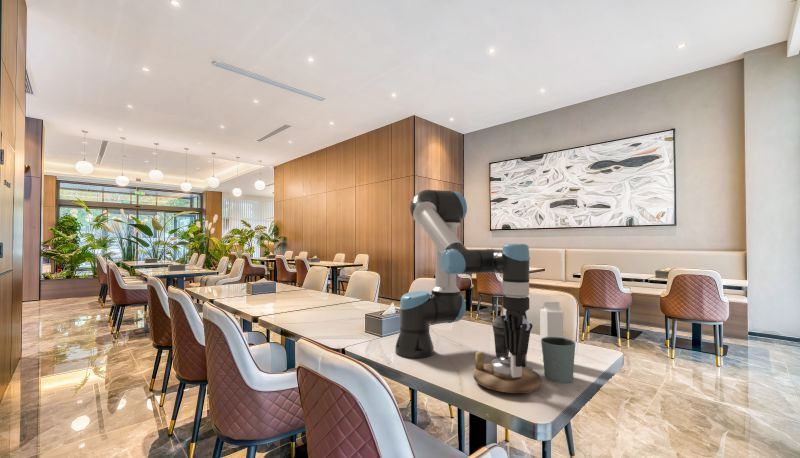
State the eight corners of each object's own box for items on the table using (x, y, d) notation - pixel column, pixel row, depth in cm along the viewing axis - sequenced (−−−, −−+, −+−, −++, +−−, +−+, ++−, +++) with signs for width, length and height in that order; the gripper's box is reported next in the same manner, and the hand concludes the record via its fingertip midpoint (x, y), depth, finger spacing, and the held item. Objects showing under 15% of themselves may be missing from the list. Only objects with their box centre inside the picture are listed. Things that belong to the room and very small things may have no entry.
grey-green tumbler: (580, 378, 114) (580, 341, 114) (568, 387, 107) (567, 347, 108) (549, 370, 121) (549, 334, 122) (535, 377, 115) (535, 340, 115)
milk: (540, 359, 132) (539, 300, 133) (555, 359, 132) (555, 300, 133) (547, 365, 126) (547, 303, 127) (564, 365, 126) (563, 303, 127)
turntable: (464, 383, 106) (464, 361, 106) (484, 363, 123) (484, 344, 123) (534, 399, 95) (534, 374, 96) (546, 375, 112) (546, 354, 113)
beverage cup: (509, 354, 138) (509, 302, 139) (514, 360, 131) (513, 306, 131) (490, 353, 139) (490, 302, 139) (493, 359, 131) (493, 305, 132)
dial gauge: (508, 379, 113) (508, 335, 113) (517, 367, 123) (517, 327, 124) (524, 382, 110) (524, 337, 111) (532, 370, 121) (532, 329, 121)
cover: (487, 376, 107) (487, 359, 108) (496, 367, 115) (496, 351, 115) (518, 382, 103) (518, 364, 103) (524, 372, 110) (524, 356, 111)
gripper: (540, 298, 99) (541, 383, 98) (515, 292, 112) (515, 367, 111) (517, 299, 98) (517, 386, 97) (493, 292, 110) (493, 369, 109)
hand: (516, 376), depth 104 cm, fingers closed
